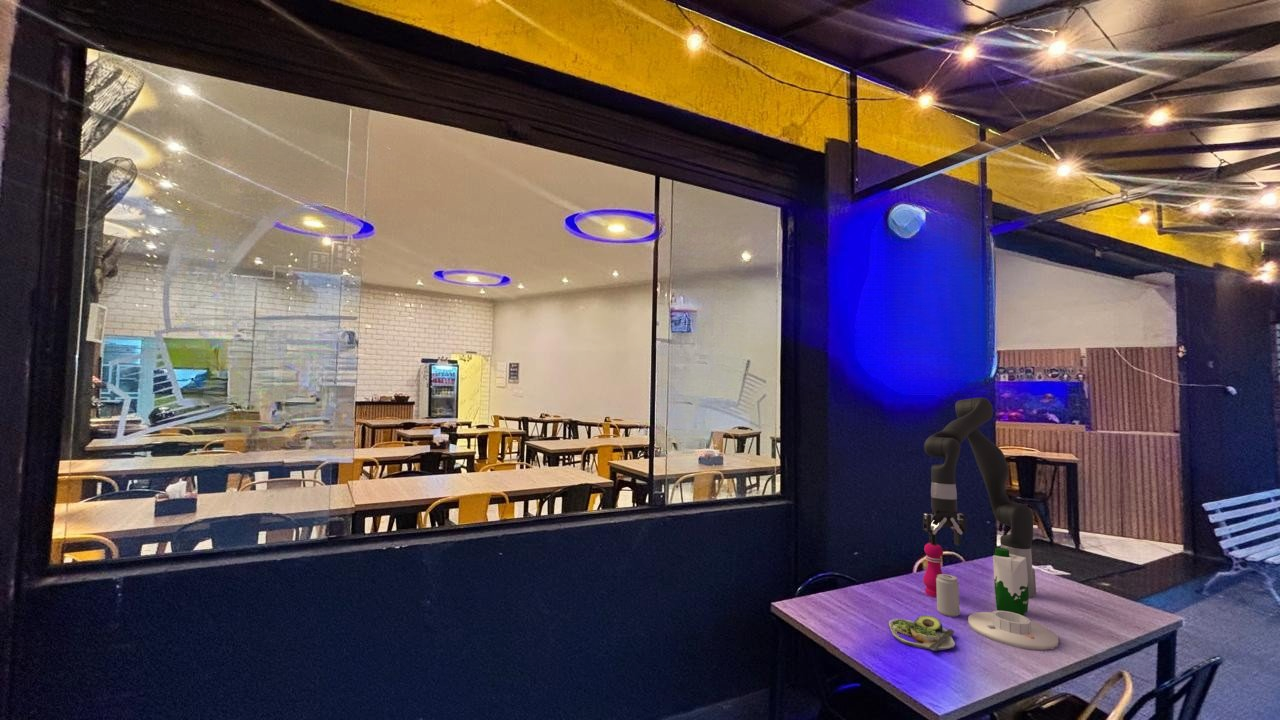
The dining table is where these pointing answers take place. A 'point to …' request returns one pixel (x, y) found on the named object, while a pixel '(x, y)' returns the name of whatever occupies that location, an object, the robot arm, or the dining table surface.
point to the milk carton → (1010, 582)
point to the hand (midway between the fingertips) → (945, 545)
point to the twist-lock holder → (1013, 630)
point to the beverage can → (947, 595)
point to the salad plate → (923, 633)
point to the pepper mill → (932, 568)
